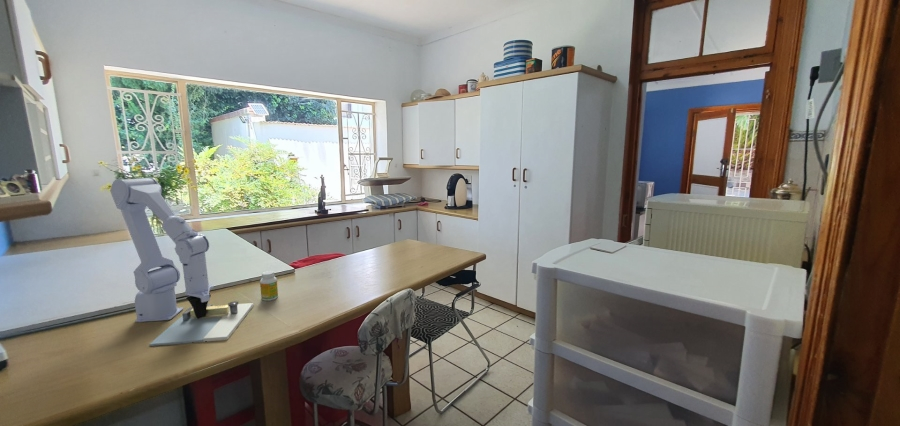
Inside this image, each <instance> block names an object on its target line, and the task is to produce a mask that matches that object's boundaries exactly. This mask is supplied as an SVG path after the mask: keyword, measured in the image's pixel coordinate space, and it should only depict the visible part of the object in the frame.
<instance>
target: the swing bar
mask: <svg viewBox="0 0 900 426" xmlns="http://www.w3.org/2000/svg"><path fill="white" fill-rule="evenodd" d="M229 311H230V307H229V306H228V304H222V305H212V306H209V307H207V308H206V316H213V315H223V314H228V313H229ZM190 315H191V318H193V317H196V315H195V313H194V310H193V308H192V310H191V311H190Z"/></svg>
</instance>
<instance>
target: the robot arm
mask: <svg viewBox="0 0 900 426" xmlns="http://www.w3.org/2000/svg"><path fill="white" fill-rule="evenodd" d="M109 189H110V190H109V191H110V194H111V197H112V199H113V200H112V201H113V202H114V204H115V207H116V209H119V210H120V212H121V215H122V217H123V220H124V222H125V225H126V227H127V230H128V232H129V235H130V237H131V240H132V242H133V245H134V247H135V250H136V252H137V255H138V258H139V260H140V263H139V265H137V267H136V268H135V269H134V271H133V274H134V279H135V280H134V284H135V287H136V288H137V290H138V292H137V293H136V294H135V297H134V307H135V315H136V320H135V323H142V322H143V323H144V322H157V321H158V322H159V321H169V320H172V319H173V318H174V317H175V316H177V315H178V314H179V313H180V312H182V311H183V310H184V307H182V306H181V307H178V306H177V298H176V290H175V287H176V286H177V285H178V282H179V281H180V280H181V272H180V270H179V268H178V267H176V265H175V262H174V261H173V259H170V258H167V257H164V256H163V254H162V252H161V250H160V246H159V244H158V242H157V239H156V236H155V233H154V231H153V228H152V226H151V224H150V221H149V218H148V216H147V213H146V208H148V209H149V210H150V211H151V212H152V213H153V214H155V216H157V218H158V219H159V220H160V221H161V222H162V224H161V228H162V229H163V231H164V232H165V233H166V234H167V236H168V237H169V238H170V239H171V240H172V242H173V243H174V244H175V247H174V250H175V253H176V255H177V256H178V258H179V261H180V262H179V263H180V264H182V272H183V280H184V287H185V291H184V294H185V295H186V296H187V297H186V298H185V299H186V300H187V301H188V303H189V304H190V305H191V307H193V310H194V313H195V315H196V317H197V319H199V318H202V317H206V308H207V305H208V302H210V301H211V297H212V296H211V294H210V290H211V289H212V290H213V289H214V288H215V286H214V285H213V284H209V276H208V268H207V257H206V253H207V252H208V251H209V248H210V242H209V240H208V238H207V236H206V235H204V234H203V233H202V234H201V233H200V232H198V231H195V230H194V229H193V228H192V226H191V225H190V224H189V223H188V222H187V221H186V220H185V218H184V217H182V216H178V215H176V214H175V213H174V212H173V210H172V208H171V207H170V204H168V202H167V201H166V200H165V198H164V197H163V195H162V192H163V191H162V186H161V184H160V183H159V182H158V180H157V179H156V178H154V177H151V176H150V177H143V178H142V177H141V178H140V177H139V178H125V179H123V178H122V179H121V178H117V179H115V180H113V182H112V184H111V187H110V188H109ZM152 269H153V270H152Z"/></svg>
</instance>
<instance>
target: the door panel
mask: <svg viewBox="0 0 900 426" xmlns="http://www.w3.org/2000/svg"><path fill="white" fill-rule="evenodd" d="M229 307H230V306H229ZM253 307H255V306H254V303H253V302H250V303H247V302H246V303H238V305H237V309H238V313H237V314H234V315H231V314H230V311H229V313H228V314H223V315H213V316H206V317H202V318H199V319H197V317H193V318H190V319H189V320H188V321H183V316H182V315H181V316H180V317H179V318H177V319H176V320H175V321H174V322H173V323H172V324H171V325H169V327H167V328H166V329H165V330H164V331H163V332H161V333H160V334H159V335H158V336H157V337H156V338H155V339H153V340H152V341H151V342H150V343H149V347H156V346H168V345H180V344H181V345H182V344H192V342H194V343H205V341H207V342H215V341H216V342H217V341H228V340H229V338H231V335H233V333H234V332H235V331H236V329H237V328H238V327H239V325H240V324H241V323H242V322H243V320H244V319H245V317H247V315H248V314H249V313H250V311H251V310H252V309H253ZM227 339H228V340H227Z"/></svg>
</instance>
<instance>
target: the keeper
mask: <svg viewBox="0 0 900 426" xmlns="http://www.w3.org/2000/svg"><path fill="white" fill-rule="evenodd" d="M209 306H213V304H212V303H211V304H207V307H209ZM192 308H193V307H192V306H189V307H188V308H187V309H186V310H185V311H184V312H182V315H181V316H183V321H188V320H189V319H190V318H191V315H190V311H191V310H192Z"/></svg>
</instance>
